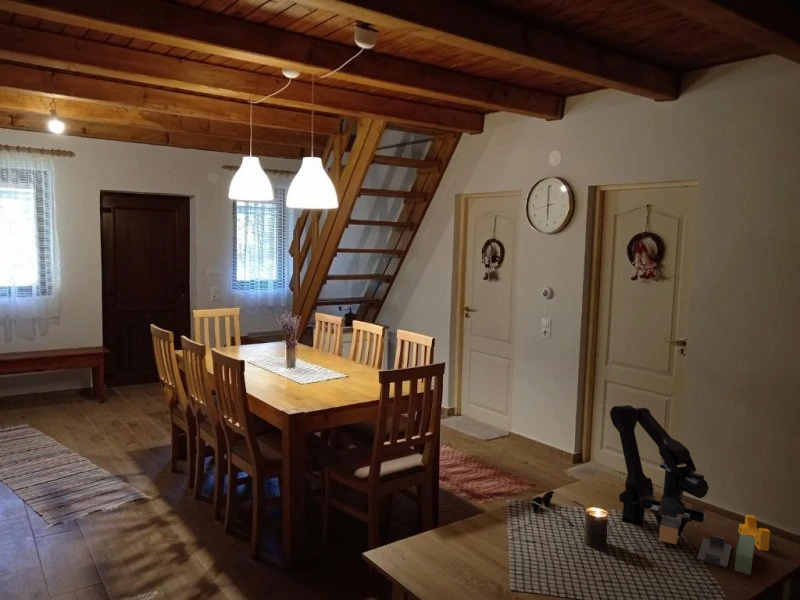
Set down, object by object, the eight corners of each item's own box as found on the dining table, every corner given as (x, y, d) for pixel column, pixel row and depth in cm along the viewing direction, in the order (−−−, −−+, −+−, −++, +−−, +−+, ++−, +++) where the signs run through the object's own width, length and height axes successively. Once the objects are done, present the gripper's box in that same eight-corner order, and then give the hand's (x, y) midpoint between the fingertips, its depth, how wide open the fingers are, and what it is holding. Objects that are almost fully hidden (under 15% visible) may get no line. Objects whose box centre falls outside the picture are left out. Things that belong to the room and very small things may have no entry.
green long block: (733, 569, 179) (734, 553, 178) (737, 548, 192) (738, 533, 192) (750, 574, 176) (751, 558, 176) (753, 553, 190) (755, 537, 189)
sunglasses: (550, 502, 223) (552, 489, 222) (591, 520, 212) (593, 506, 211) (529, 512, 213) (531, 499, 212) (571, 531, 202) (573, 517, 201)
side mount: (696, 559, 184) (697, 551, 184) (703, 540, 197) (704, 532, 197) (726, 568, 180) (727, 559, 179) (731, 547, 193) (732, 539, 193)
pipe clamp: (738, 533, 204) (739, 514, 204) (752, 534, 204) (753, 515, 203) (753, 550, 192) (755, 530, 192) (768, 551, 192) (770, 531, 191)
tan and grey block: (658, 540, 193) (660, 522, 192) (663, 529, 200) (664, 512, 200) (676, 544, 190) (677, 527, 190) (680, 533, 198) (681, 517, 197)
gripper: (637, 486, 192) (633, 534, 193) (703, 501, 182) (698, 552, 183) (644, 476, 201) (641, 522, 203) (707, 490, 191) (703, 538, 193)
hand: (669, 533), depth 195 cm, fingers closed on tan and grey block, 5 cm apart
